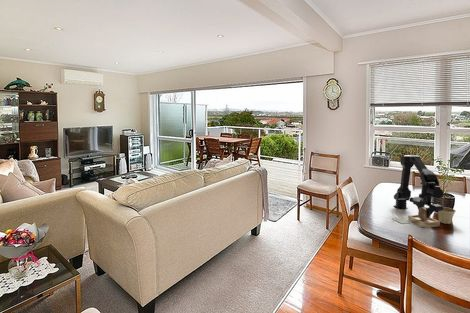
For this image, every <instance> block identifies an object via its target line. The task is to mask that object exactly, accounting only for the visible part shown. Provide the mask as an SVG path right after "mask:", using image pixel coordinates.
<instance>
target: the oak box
mask: <svg viewBox="0 0 470 313" xmlns="http://www.w3.org/2000/svg"><path fill="white" fill-rule="evenodd" d="M407 220H409V221H411V222H413V223H412V224H416V225H417V226H419V227H422V228H424V229H425V228H426V229H427V228H434V227H440V224H441V222H440V221H439V220H437V219H435V218H432V217H430V220H422V219H420V218H418V214H414V215H408V218H407Z"/></svg>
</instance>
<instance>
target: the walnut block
mask: <svg viewBox="0 0 470 313" xmlns="http://www.w3.org/2000/svg"><path fill="white" fill-rule="evenodd" d="M426 208H428V206H424V207H419V210H418V214H417V215H418V218H420V219H422V220H430V218H431V215H432V214H431V215H430V217H429V218H427V209H426Z"/></svg>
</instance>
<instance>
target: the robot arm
mask: <svg viewBox="0 0 470 313" xmlns="http://www.w3.org/2000/svg"><path fill="white" fill-rule="evenodd" d="M399 162H400V166H401V167H402V168H401V169H402V171H401V179H400V186H399V187H398V188H397V189H396V193H395V194H394V195H393V199H394V200H395V205H393V207H394V208H397V209H399V210H404V209H408V207H407V201H409V202H410V203H412V205H415V206H416V207H417V210H418V211H419V207H427V208H426V209H427V218H429V217H430V218H431V216H430V215H432V214H433V213H434V212H438V211H443V207H444V206H443V205H441V204H438V203H434V201H433V198H434V199H435V198H436V199H441V198H442V197H443V196H444V190H442V189H441V186H440V181H439V179H438V177H437V174H435V172H433V171H432V170H430V169H428V167H427V166H426V165H425V163H424V162H423V160H422V159H421V156H420V155H402V156H401V157H400V160H399ZM413 167H415V169H416V170H417V171H418V172H419V178H420V180H421V182H420V185H421V190H420V191H421V193H418V196H411V195H412V194H411V193H412V191H411V190H410V188H409V185H410V180H411V179H410V176H411V171H412V168H413Z"/></svg>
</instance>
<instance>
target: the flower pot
mask: <svg viewBox="0 0 470 313" xmlns="http://www.w3.org/2000/svg"><path fill="white" fill-rule="evenodd" d="M456 211H457V210H456V209H454V208H451V207H447V206H446V207H445V206H443V211H437V214H438V221H440V224H441V223H442V224H445V225H446V224H448V225H450V224H452V221H453V217H454V215H455V213H456Z"/></svg>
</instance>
